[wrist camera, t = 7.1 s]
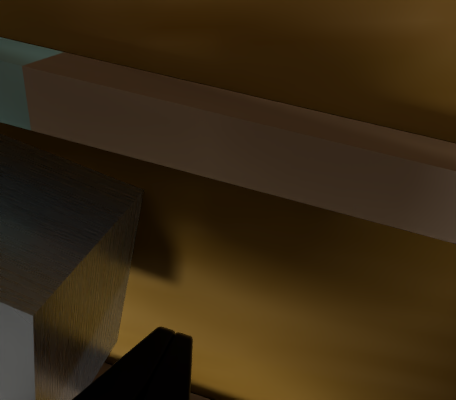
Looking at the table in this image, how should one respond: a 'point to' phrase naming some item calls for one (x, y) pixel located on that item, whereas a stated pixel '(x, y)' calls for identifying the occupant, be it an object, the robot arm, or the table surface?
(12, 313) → the block
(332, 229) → the table surface
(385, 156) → the brown u-shaped frame
